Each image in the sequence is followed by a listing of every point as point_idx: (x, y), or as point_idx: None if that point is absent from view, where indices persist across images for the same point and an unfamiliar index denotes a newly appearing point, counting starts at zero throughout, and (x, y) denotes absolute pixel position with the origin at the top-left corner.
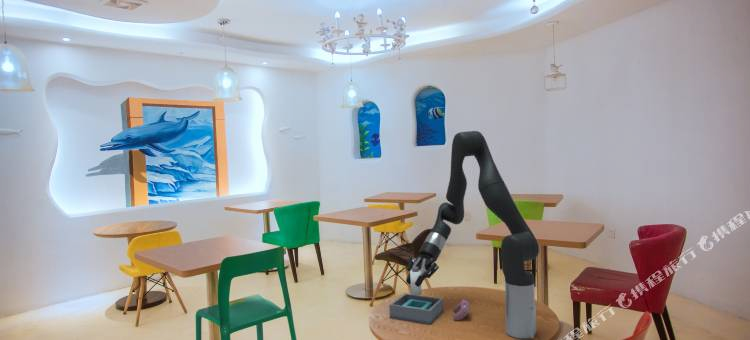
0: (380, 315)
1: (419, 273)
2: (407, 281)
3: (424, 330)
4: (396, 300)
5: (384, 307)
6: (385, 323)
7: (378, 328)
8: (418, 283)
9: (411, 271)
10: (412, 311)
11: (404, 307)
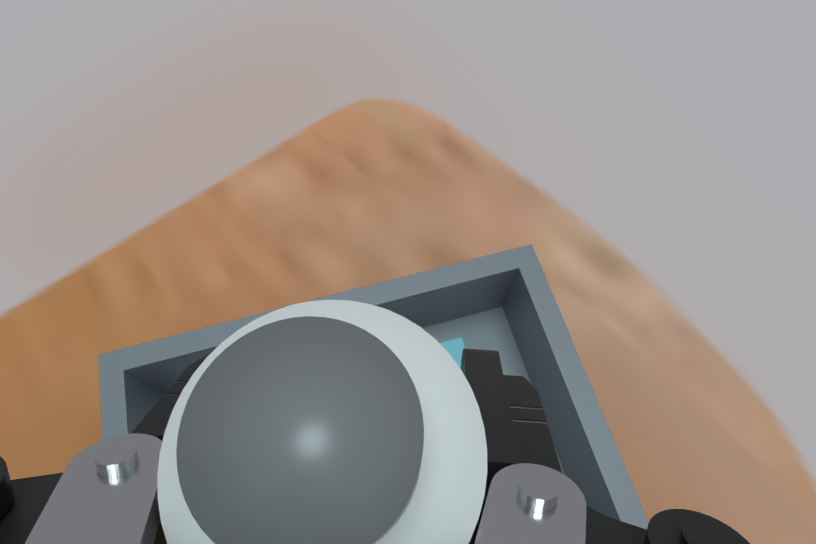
0: (606, 289)
1: (175, 442)
2: (463, 355)
3: (148, 276)
4: (575, 379)
5: (745, 453)
6: (457, 205)
7: (433, 127)
8: (203, 358)
9: (407, 361)
10: None
11: (375, 287)
